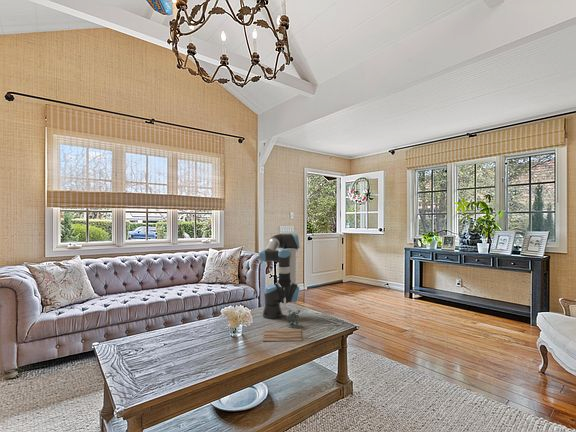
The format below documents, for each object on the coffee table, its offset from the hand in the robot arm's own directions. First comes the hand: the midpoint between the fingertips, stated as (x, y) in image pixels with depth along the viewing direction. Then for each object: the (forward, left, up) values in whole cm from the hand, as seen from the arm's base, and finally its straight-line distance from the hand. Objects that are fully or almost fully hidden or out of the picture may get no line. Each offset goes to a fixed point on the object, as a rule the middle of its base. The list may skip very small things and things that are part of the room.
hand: (284, 308), depth 206 cm
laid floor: (+12, -2, -16) cm, 20 cm away
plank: (+3, -2, -16) cm, 16 cm away
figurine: (-11, +6, -16) cm, 20 cm away
